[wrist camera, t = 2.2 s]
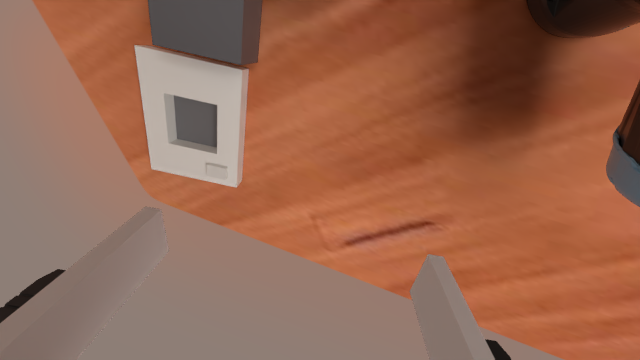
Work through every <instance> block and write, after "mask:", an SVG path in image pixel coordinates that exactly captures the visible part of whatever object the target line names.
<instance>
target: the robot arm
mask: <svg viewBox="0 0 640 360" xmlns="http://www.w3.org/2000/svg"><path fill="white" fill-rule="evenodd" d="M527 3H528V7H529V10H530V12H531V14H532V16H533V18H534V20H535V21H536V22H537V23H538V25H539V26H540V27H542V28H543V29H544V30H545V31H547V32H549V33H551V34H553V35H556V36H559V37H565V38H582V37H595V36H601V35H605V34H609V33H613V32H616V31H619V30H621V29H624V28H626V27H629V26H631V25H634V24H636V23H639V22H640V0H527ZM606 172H607V176H608V178H609V180H610V181H611V182H612V183H613V184H614V185H615V188H616V189H617V191H618V192H619V193H621V194H622V195H623V196H624V197H626V198H627V199H628V200H630V201H631V202H632V203H634V204H635V205H637V206H639V207H640V80H639V83H638V85H637V88H636V90H635V92H634V95H633V97H632V99H631V102H630V104H629V106H628V108H627V111H626V113H625V115H624V117H623V120H622V122H621V124H620V125H619V126H618V127H617V129H616V131H615V132H614V134H613V147H612V150H611V153H610V156H609V158H608V161H607V165H606ZM168 251H169V249H168V243H167V238H166V232H165V227H164V221H163V217H162V211H161V209H156V208H151V207H144V208H143V209H142V210H141V211H140V212H138V213H137V214H136V215H134V216H133V217H132V218H131V219H129V220H128V221H127V222H126V223H125V224H123V225H122V226H121V227H119V228H118V229H117V230H116V231H114V232H113V233H112V234H111V235H109V236H108V237H107V238H106V239H105V240H103V241H102V242H101V243H100V244H98V245H97V246H96V247H95V248H93V249H92V250H91V251H90V252H88V253H87V254H86V255H85V256H83V257H82V258H81V259H80V260H78V261H77V262H76V263H75V264H73V265H72V266H71V267H70V268H68V269H67V270H60V269H57V270H55V271H54V272H52V273H50V274H48V275H46V276H44V277H42V278H40V279H38V280H36V281H35V282H34V283H33V284H31V285H30V286H29V287H27V288H26V289H25V290H23V291H22V292H21V293H20V295H19V296H16V297H14V298H13V299H12V300H10V301H9V302H7V303H6V304H5V306H4V307H1V308H0V360H77V358H78V357H79V356H80V355H81V354H82V353H83V352H84V350H85V349H86V348H87V347H88V345H89V344H90V343H91V342H92V341H93V340H94V339H95V337H96V336H97V335H98V334H99V333H100V331H101V330H102V329H103V328H104V327H105V326H106V325H107V323H108V322H109V321H110V320H111V319H112V317H113V316H114V315H115V314H116V313H117V312H118V310H119V309H120V308H121V307H122V306H123V305H124V303H125V302H126V301H127V300H128V299H129V297H130V296H131V295H132V294H133V293H134V292H135V290H136V289H137V288H138V287H139V286H140V284H141V283H142V282H143V281H144V280H145V278H147V276H148V275H149V274H150V273H151V272H152V270H153V269H154V268H155V267H156V266H157V265H158V263H159V262H160V261H161V260H162V259H163V258H164V256H165V255H166V254H167V253H168ZM410 294H411V297H412V301H413V304H414V307H415V311H416V315H417V318H418V321H419V325H420V328H421V332H422V335H423V339H424V342H425V346H426V349H427V352H428V356H429V359H430V360H511V358H510V357H509V355H508V354H507V353H506V352H505V351H504V350H503V348H502V347H501V346H500V345H499V344H498V343H497V342H496V341H492V340H486V339H484V337H483V335H482V333H481V331H480V329H479V327H478V325H477V323H476V321H475V319H474V317H473V315H472V313H471V311H470V309H469V307H468V305H467V303H466V301H465V299H464V297H463V295H462V293H461V291H460V289H459V287H458V285H457V283H456V281H455V279H454V277H453V275H452V273H451V271H450V269H449V267H448V265H447V263H446V261H445V259H444V257H441V256H436V255H430V254H428V256H427V258H426V260H425V262H424V264H423V266H422V268H421V270H420V272H419V274H418V276H417V278H416V280H415V282H414V284H413V286H412V288H411V290H410Z"/></svg>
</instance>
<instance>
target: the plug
mask: <svg viewBox="0 0 640 360" xmlns="http://www.w3.org/2000/svg"><path fill="white" fill-rule="evenodd" d="M148 5H149V15H150V24H151V33H152V43H153V45H157V46H161V47H165V48H170V49H174V50H178V51H183V52H187V53H191V54H196V55H200V56H204V57H209V58H213V59H217V60H222V61H226V62H230V63H235V64H239V65H244V64H250V63H257V62H258V51H259V38H260V25H261V12H262V0H148Z"/></svg>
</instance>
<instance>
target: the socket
mask: <svg viewBox="0 0 640 360" xmlns="http://www.w3.org/2000/svg"><path fill="white" fill-rule="evenodd" d="M134 46H135V53H136V61H137V68H138V75H139V82H140V90H141V97H142V104H143V111H144V119H145V126H146V133H147V140H148V148H149V155H150V162H151V169H154V170H158V171H163V172H167V173H172V174H176V175H181V176H186V177H190V178H195V179H199V180H204V181H209V182H213V183H218V184H222V185H227V186H232V187H236V188H237V186H238V185H239V184H240V182H241V181H242V172H243V156H244V139H245V123H246V106H247V90H248V74H249V69H248V68H244V67H239V66H235V65H231V64H226V63H222V62H218V61H213V60H209V59H205V58H200V57H196V56H192V55H187V54H183V53H179V52H174V51H170V50H166V49H161V48H157V47H153V46H148V45H134Z"/></svg>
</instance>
